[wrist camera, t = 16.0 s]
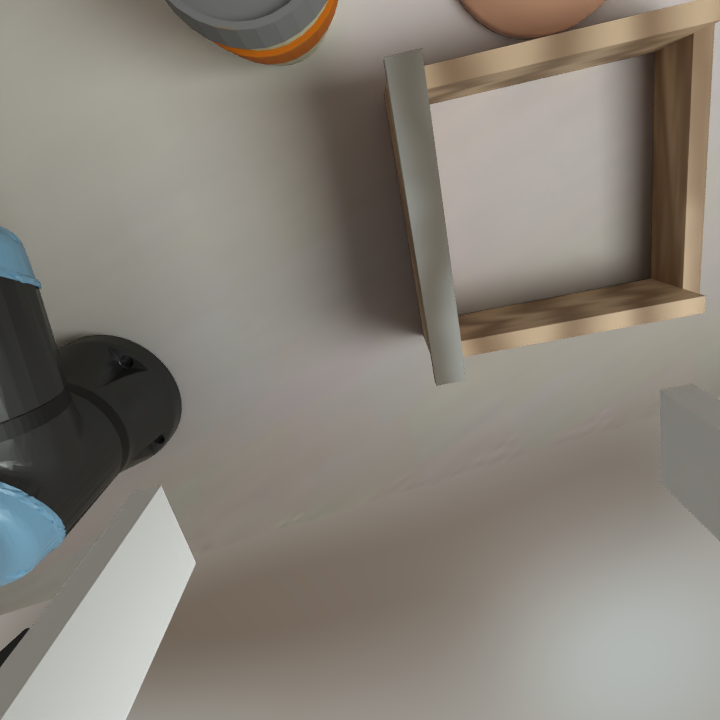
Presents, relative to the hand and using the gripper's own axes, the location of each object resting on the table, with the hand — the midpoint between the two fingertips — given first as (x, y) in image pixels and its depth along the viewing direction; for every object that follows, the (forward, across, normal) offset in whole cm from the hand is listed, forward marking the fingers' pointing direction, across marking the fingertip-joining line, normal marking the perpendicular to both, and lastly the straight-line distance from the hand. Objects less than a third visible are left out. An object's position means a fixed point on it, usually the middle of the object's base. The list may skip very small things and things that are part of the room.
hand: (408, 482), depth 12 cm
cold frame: (+36, +16, +3) cm, 40 cm away
